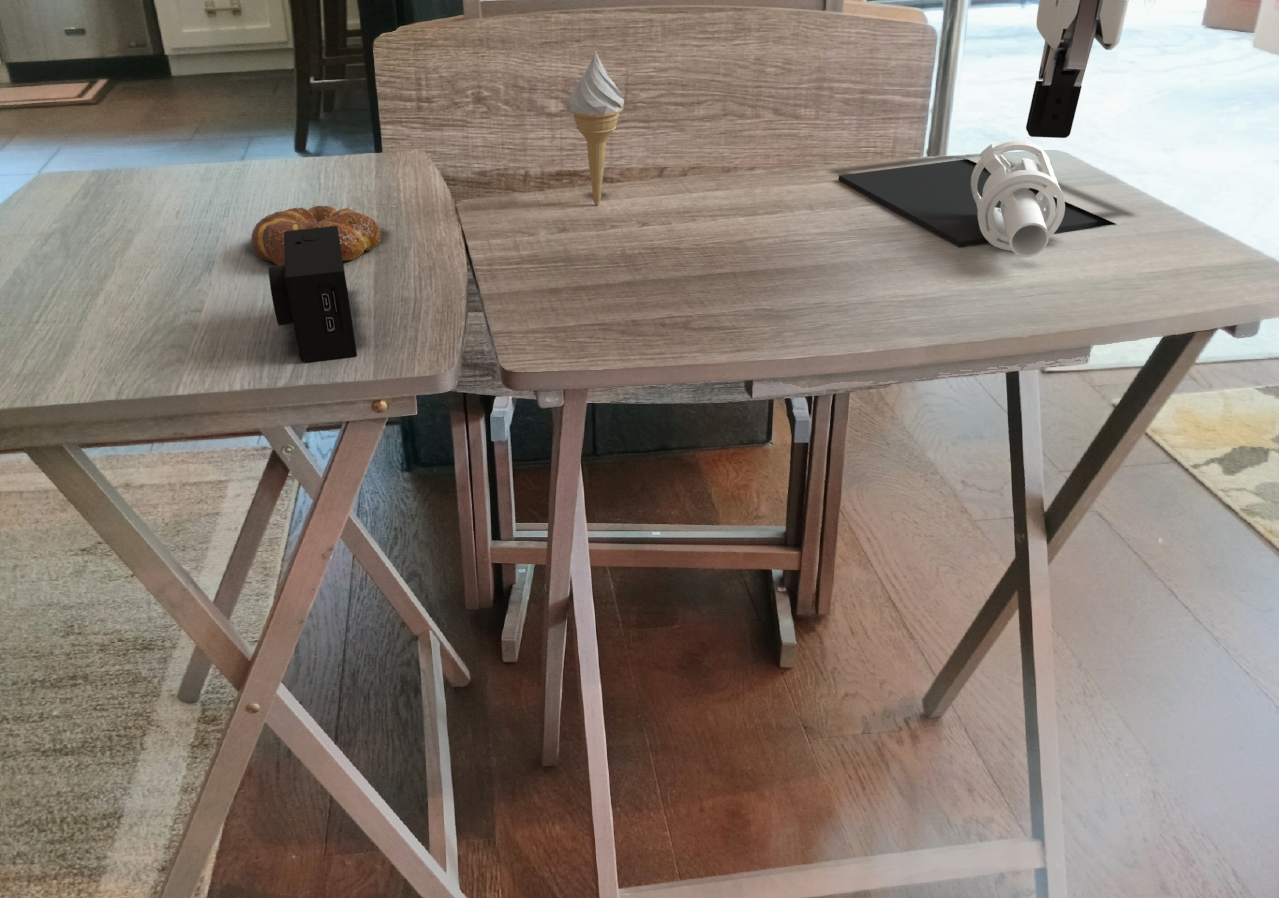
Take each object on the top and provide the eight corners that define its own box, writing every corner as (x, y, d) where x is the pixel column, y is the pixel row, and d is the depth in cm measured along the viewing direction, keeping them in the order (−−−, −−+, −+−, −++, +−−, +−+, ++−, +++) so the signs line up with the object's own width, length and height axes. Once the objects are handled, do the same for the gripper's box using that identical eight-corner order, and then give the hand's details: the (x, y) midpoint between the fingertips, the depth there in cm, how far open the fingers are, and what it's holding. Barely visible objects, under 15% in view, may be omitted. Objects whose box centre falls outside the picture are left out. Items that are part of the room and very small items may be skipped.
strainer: (966, 239, 88) (954, 173, 99) (1018, 293, 90) (1000, 222, 101) (1040, 182, 84) (1018, 120, 95) (1093, 240, 86) (1065, 172, 97)
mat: (1122, 223, 99) (1123, 217, 98) (959, 247, 95) (960, 241, 94) (980, 162, 116) (981, 156, 116) (838, 180, 112) (838, 174, 112)
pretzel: (386, 228, 103) (381, 191, 101) (378, 268, 94) (372, 229, 92) (265, 234, 103) (258, 197, 101) (245, 275, 94) (236, 235, 92)
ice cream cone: (623, 195, 110) (624, 43, 101) (624, 213, 105) (625, 55, 97) (570, 196, 110) (567, 45, 101) (569, 214, 105) (565, 56, 97)
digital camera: (284, 312, 87) (268, 230, 83) (349, 304, 88) (337, 223, 84) (285, 365, 78) (267, 277, 74) (357, 356, 79) (343, 269, 75)
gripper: (1189, -122, 68) (1113, 162, 78) (1142, -134, 80) (1081, 113, 90) (1066, -120, 69) (1007, 158, 80) (1038, -133, 81) (990, 110, 91)
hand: (1046, 134), depth 85 cm, fingers closed
